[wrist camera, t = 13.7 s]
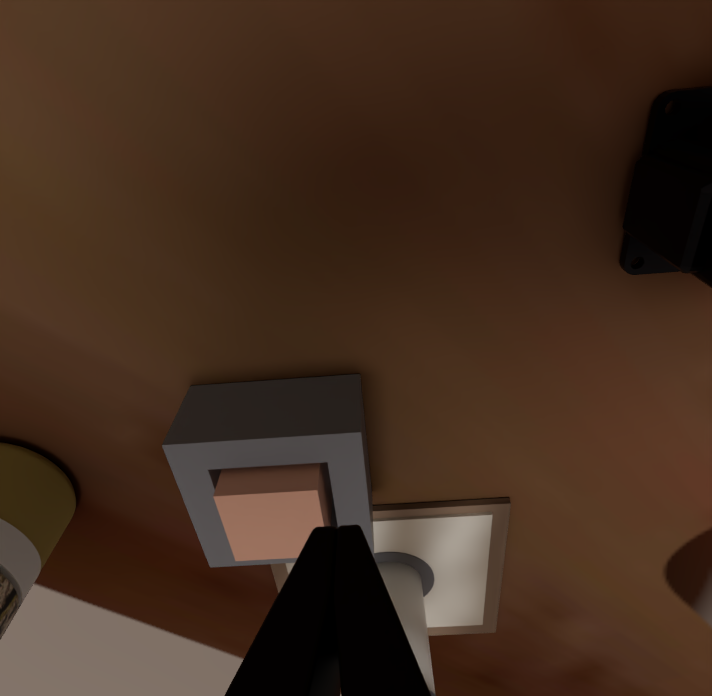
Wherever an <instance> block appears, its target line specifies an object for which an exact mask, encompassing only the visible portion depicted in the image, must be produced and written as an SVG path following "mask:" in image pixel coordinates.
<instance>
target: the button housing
mask: <svg viewBox="0 0 712 696" xmlns="http://www.w3.org/2000/svg"><path fill="white" fill-rule="evenodd" d="M162 447H163V449H164V452H165V454H166V457H167V459H168V462H169V464H170V467H171V470H172V472H173V475H174V477H175V480H176V482H177V485H178V487H179V490H180V492H181V495H182V497H183V500H184V502H185V505H186V507H187V510H188V513H189V515H190V518H191V520H192V523H193V525H194V528H195V530H196V533H197V535H198V538H199V540H200V543H201V545H202V548H203V550H204V553H205V556H206V558H207V561H208V563H209V566H210V567H224V566H243V565H261V564H280V563H295V562H296V560H297V558H285V559H267V560H248V561H235V558H234V555H233V552H232V549H231V546H230V543H229V541H228V538H227V535H226V532H225V529H224V526H223V523H222V520H221V518H220V515H219V512H218V509H217V506H216V503H215V500H214V497H213V495H214V492H215V489H216V486H217V483H218V479H219V476H220V473H221V470H222V469H228V468H243V467H259V466H275V465H291V464H307V463H323V462H328V468H329V474H330V481H331V487H332V493H333V495H332V515H331V526H335V527H336V528H337V529H338V527H339V526H341V525H356V524H357V525H359V526H360V527H361V528H362V530H363V533H364V535H365V537H366V540H367V542H368V545H369V547H370V549H371V552H372V554H373V557H374V534H373V506H372V488H371V478H370V468H369V458H368V447H367V437H366V427H365V417H364V407H363V397H362V387H361V377H360V374H351V375H337V376H323V377H309V378H295V379H280V380H266V381H252V382H238V383H224V384H210V385H196V386H190V388H189V390H188V392H187V394H186V396H185V398H184V400H183V402H182V404H181V406H180V408H179V411H178V413H177V415H176V417H175V419H174V421H173V423H172V425H171V427H170V429H169V431H168V434H167V436H166V438H165V440H164V442H163V444H162Z"/></svg>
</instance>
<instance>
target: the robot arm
mask: <svg viewBox="0 0 712 696" xmlns="http://www.w3.org/2000/svg"><path fill="white" fill-rule="evenodd" d="M672 100H674V101H675V106H674V108H673V110H672V111H671V112H670V113H669V114H666V113H665V108H666V106H667V104H668V103H669V102H670V101H672ZM623 229H624V230H625V231H626V233H625V238H624V242H623V247H622V252H621V257H620V266H621V268H622V269H623V270H625V271H626V272H627V273H629V274H632V275H639V274H652V273H665V272H678V271H681V272H683V273H691V274H692V275H694V276H695V277H697V278H698V279H699V280H701V281H702V282H704V283H705V284H707V285H708V286H710V287H711V288H712V86H708V87H697V88H686V89H676V90H669V91H665V92H663V93H662V94H661V95H659V96H658V97H657V99H656V100H655V101H654V103H653V106H652V109H651V114H650V119H649V123H648V128H647V133H646V138H645V142H644V147H643V152H642V156H641V157H640V158H639V159H638V161H637V162H636V164H635V169H634V174H633V179H632V184H631V189H630V194H629V198H628V203H627V208H626V213H625V218H624V223H623ZM636 257H639V260H638V262H637V263H636V264H634V265H631V262H632V260H633V259H635V258H636ZM340 688H341V694H342V696H431V693H430V691H429V689H428V686H427V684H426V681H425V679H424V677H423V674H422V672H421V669H420V667H419V665H418V662H417V660H416V657H415V655H414V653H413V650H412V648H411V645H410V643H409V641H408V638H407V636H406V633H405V631H404V629H403V626H402V624H401V621H400V619H399V617H398V614H397V612H396V609H395V607H394V605H393V602H392V600H391V597H390V595H389V593H388V590H387V588H386V585H385V583H384V581H383V578H382V576H381V573H380V571H379V569H378V566H377V564H376V561H375V559H374V557H373V554H372V552H371V549H370V547H369V545H368V542H367V540H366V537H365V535H364V533H363V530H362V528H361V527H360V526H359V525H357V524H356V525H341V526H339V527H338V529H337V528H336V527H335V526H322V527H315V528H314V529H313V530H312V532H311V533H310V535H309V537H308V539H307V541H306V543H305V545H304V547H303V549H302V550H301V552H300V554H299V556H298V558H297V560H296V562H295V564H294V565H293V567H292V569H291V571H290V573H289V575H288V577H287V579H286V581H285V582H284V584H283V586H282V588H281V590H280V592H279V594H278V596H277V598H276V599H275V601H274V603H273V605H272V607H271V609H270V611H269V613H268V615H267V616H266V618H265V620H264V622H263V624H262V626H261V628H260V630H259V631H258V633H257V635H256V637H255V639H254V641H253V643H252V645H251V647H250V648H249V650H248V652H247V654H246V656H245V658H244V660H243V662H242V664H241V666H240V668H239V669H238V671H237V673H236V675H235V677H234V679H233V681H232V682H231V684H230V686H229V688H228V690H227V692H226V694H225V696H340Z"/></svg>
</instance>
